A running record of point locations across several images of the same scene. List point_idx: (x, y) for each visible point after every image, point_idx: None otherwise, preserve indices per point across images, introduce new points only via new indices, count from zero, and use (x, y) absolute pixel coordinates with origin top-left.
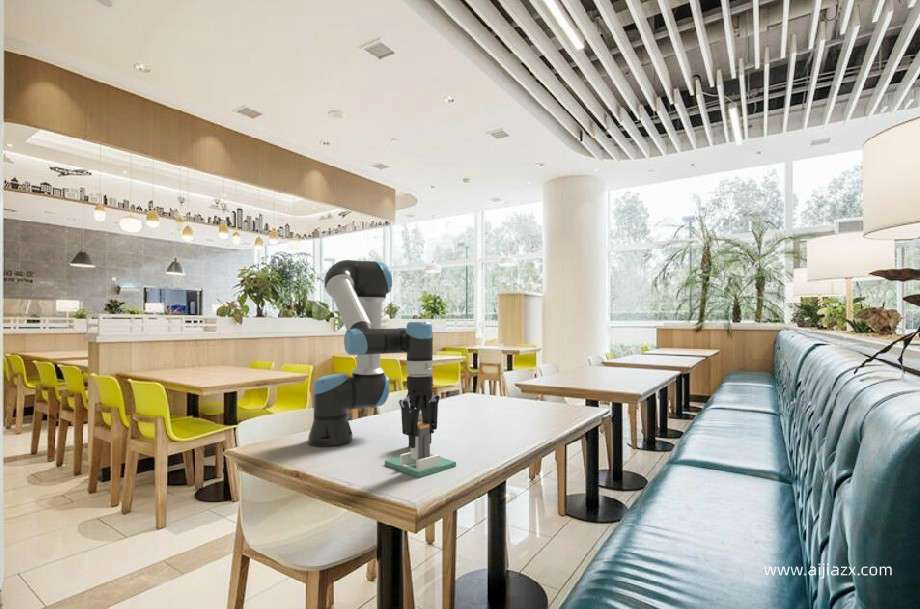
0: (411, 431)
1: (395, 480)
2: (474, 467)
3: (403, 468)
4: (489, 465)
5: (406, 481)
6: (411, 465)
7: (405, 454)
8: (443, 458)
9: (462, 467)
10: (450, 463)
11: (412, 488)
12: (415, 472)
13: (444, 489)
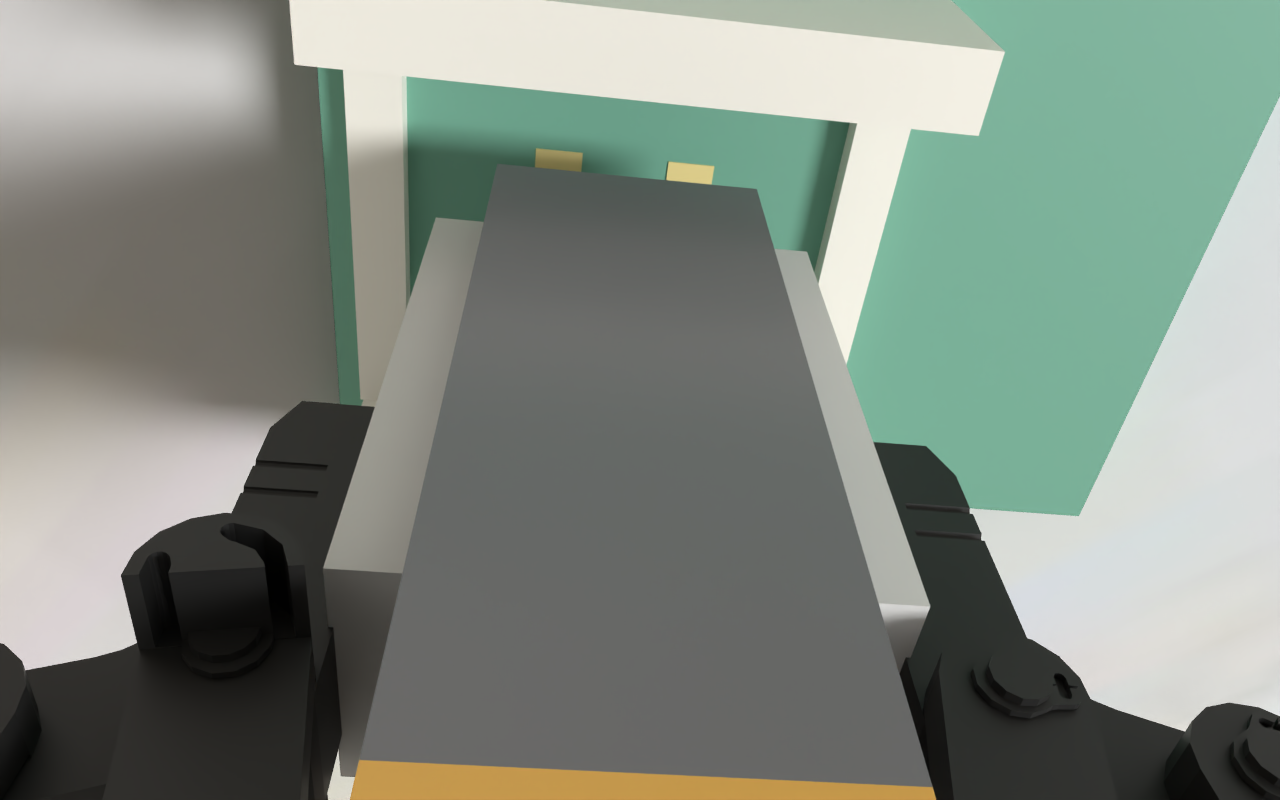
0: (278, 742)
1: (8, 267)
2: (1112, 636)
3: (321, 87)
4: (1257, 698)
5: (132, 402)
6: (507, 123)
7: (410, 74)
8: (1176, 278)
9: (1047, 551)
10: (976, 502)
11: (73, 590)
12: (343, 390)
13: (338, 777)
